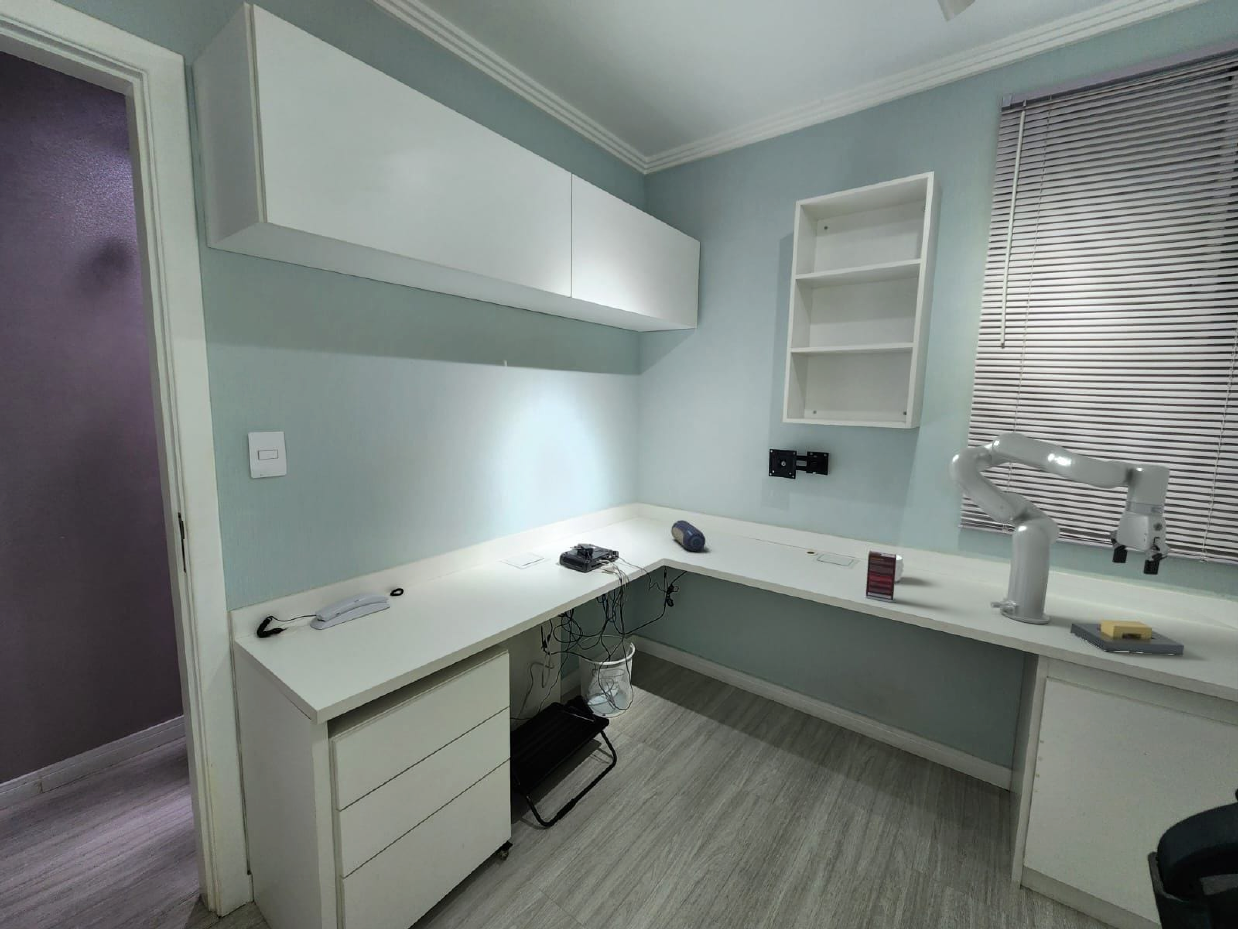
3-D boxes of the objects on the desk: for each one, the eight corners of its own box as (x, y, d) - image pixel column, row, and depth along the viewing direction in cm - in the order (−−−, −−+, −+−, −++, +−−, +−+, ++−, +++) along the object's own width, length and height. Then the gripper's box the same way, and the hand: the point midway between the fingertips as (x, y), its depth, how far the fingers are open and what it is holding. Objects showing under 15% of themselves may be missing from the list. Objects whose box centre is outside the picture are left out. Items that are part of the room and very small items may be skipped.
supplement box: (893, 598, 179) (897, 554, 177) (892, 603, 175) (896, 557, 173) (865, 593, 183) (869, 550, 181) (864, 597, 179) (868, 553, 177)
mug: (900, 587, 190) (902, 563, 189) (869, 581, 196) (871, 558, 195) (904, 578, 200) (906, 555, 199) (874, 573, 206) (876, 550, 204)
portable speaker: (668, 538, 251) (669, 518, 249) (688, 538, 253) (688, 518, 251) (685, 554, 226) (686, 531, 225) (707, 553, 228) (708, 531, 227)
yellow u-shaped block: (1111, 646, 146) (1114, 625, 145) (1099, 639, 150) (1102, 619, 149) (1149, 648, 145) (1152, 627, 145) (1136, 641, 149) (1139, 621, 149)
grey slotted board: (1104, 651, 143) (1106, 641, 142) (1070, 632, 154) (1071, 622, 154) (1182, 656, 141) (1184, 645, 141) (1141, 636, 153) (1143, 626, 153)
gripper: (1190, 516, 134) (1178, 579, 136) (1130, 503, 151) (1121, 559, 153) (1159, 515, 135) (1148, 578, 137) (1102, 502, 152) (1094, 558, 154)
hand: (1134, 568), depth 145 cm, fingers open, 9 cm apart
